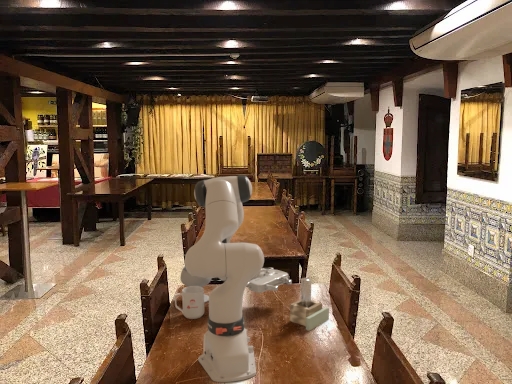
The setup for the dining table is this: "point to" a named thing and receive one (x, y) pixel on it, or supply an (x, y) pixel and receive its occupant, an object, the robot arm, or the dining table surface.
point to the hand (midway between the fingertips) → (283, 285)
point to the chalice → (194, 281)
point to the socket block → (303, 311)
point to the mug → (192, 302)
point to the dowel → (306, 292)
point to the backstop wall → (317, 318)
